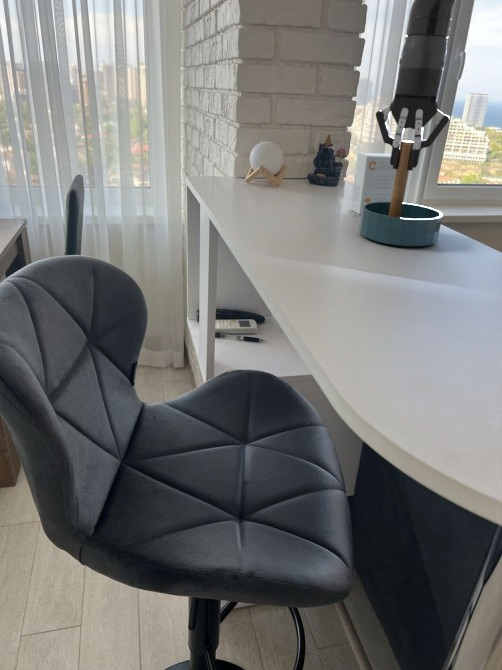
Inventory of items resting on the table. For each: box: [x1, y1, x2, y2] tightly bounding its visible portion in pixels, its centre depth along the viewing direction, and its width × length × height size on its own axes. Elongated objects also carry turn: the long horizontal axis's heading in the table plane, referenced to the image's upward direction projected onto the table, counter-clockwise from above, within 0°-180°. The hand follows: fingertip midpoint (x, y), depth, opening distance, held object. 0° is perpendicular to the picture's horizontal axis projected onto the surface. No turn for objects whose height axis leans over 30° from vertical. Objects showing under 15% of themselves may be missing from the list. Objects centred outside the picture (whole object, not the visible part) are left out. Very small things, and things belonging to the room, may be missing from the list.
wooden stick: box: [388, 140, 414, 218], centre depth 98 cm, size 2×2×15 cm
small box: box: [350, 152, 396, 215], centre depth 117 cm, size 8×6×13 cm
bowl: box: [358, 202, 444, 248], centre depth 99 cm, size 15×15×6 cm
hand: (402, 168), depth 97 cm, fingers closed on wooden stick, 2 cm apart
